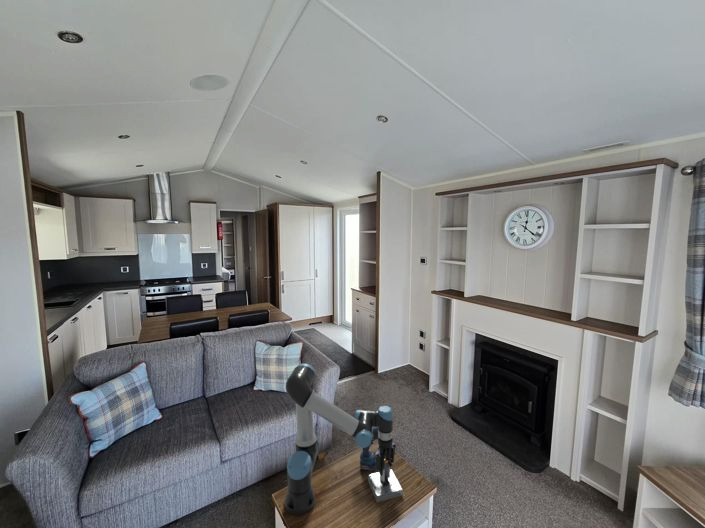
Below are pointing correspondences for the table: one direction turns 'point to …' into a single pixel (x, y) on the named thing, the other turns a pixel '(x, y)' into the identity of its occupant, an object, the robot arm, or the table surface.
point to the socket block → (384, 487)
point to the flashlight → (386, 470)
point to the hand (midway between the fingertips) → (384, 477)
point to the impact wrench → (369, 454)
